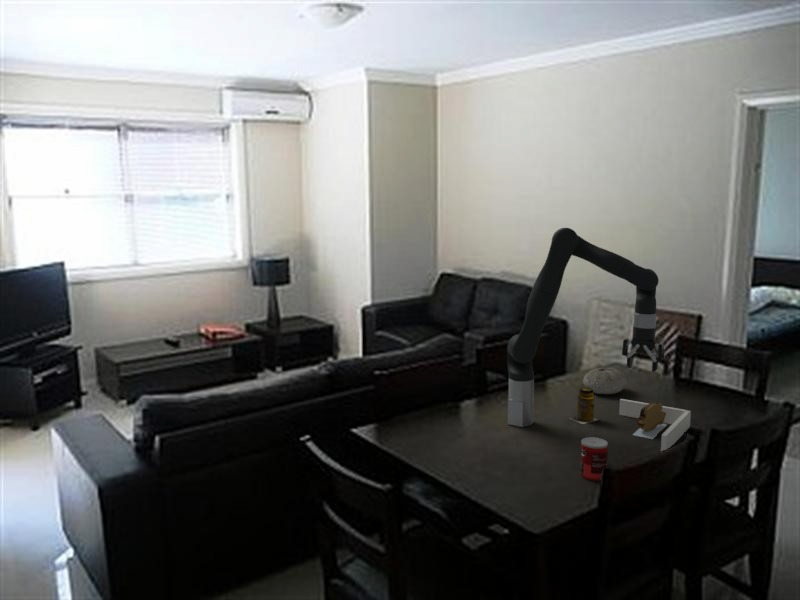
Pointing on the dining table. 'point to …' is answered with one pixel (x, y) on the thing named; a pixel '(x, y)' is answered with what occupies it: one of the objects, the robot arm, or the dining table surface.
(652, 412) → the wooden carving
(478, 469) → the dining table surface
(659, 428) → the pad
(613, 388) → the decorative shell
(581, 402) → the condiment
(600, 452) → the canned food
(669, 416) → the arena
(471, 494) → the dining table surface
